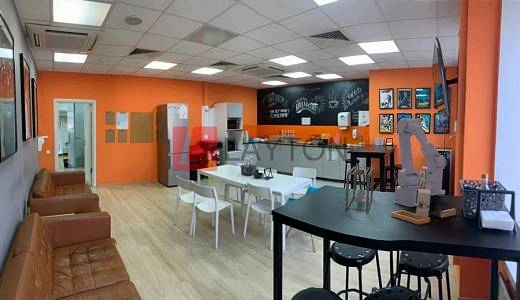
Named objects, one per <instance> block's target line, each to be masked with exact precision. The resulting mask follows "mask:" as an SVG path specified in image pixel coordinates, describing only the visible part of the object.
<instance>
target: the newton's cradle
mask: <svg viewBox="0 0 520 300" xmlns="http://www.w3.org/2000/svg"><path fill="white" fill-rule="evenodd" d="M361 169H366V170H365V172H364V173H360V171H361ZM368 171H369V172H368ZM367 173H368V174H367ZM350 175H353V185H352V186H353V187H352V188H353V189H352V195H351V198H350V200H349V186H350V185H349V184H350ZM360 176H363V180H362V184H361V182H357V180H361V178H360ZM374 176H375V167H374V166H372V167H369V166H367V167H365V166H364V167H363V166H356V165H354V166H353V167H352V168H350V170H349V171H347V173H346V179H345V181H346V184H345V201H344V202H345V204H344V205H345V209H346V210H347V209H353V210H354V209H355V210H360V211H366V212H369V210H370V206H371V204H372V201H373V198H374V197H373V196H374V182H375V181H374V179H375V177H374ZM365 182H366V190H364V186H365ZM359 186H360V188H359V189H357V190H356V188H358V187H359ZM356 192H357V193H356ZM365 195H366V196H365ZM364 199H365V201H366V202H365V208H357V207H350V206H351V204H352V202H353V200H354V201H355V203H357V204H360V203H362V202H363V200H364Z"/></svg>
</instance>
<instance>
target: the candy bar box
mask: <svg viewBox="0 0 520 300" xmlns="http://www.w3.org/2000/svg"><path fill="white" fill-rule="evenodd" d="M419 177H420V179H421V183H420V185H419V186H418V190H419V189H426V190H427V183H428V170H427V166H419Z"/></svg>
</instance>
